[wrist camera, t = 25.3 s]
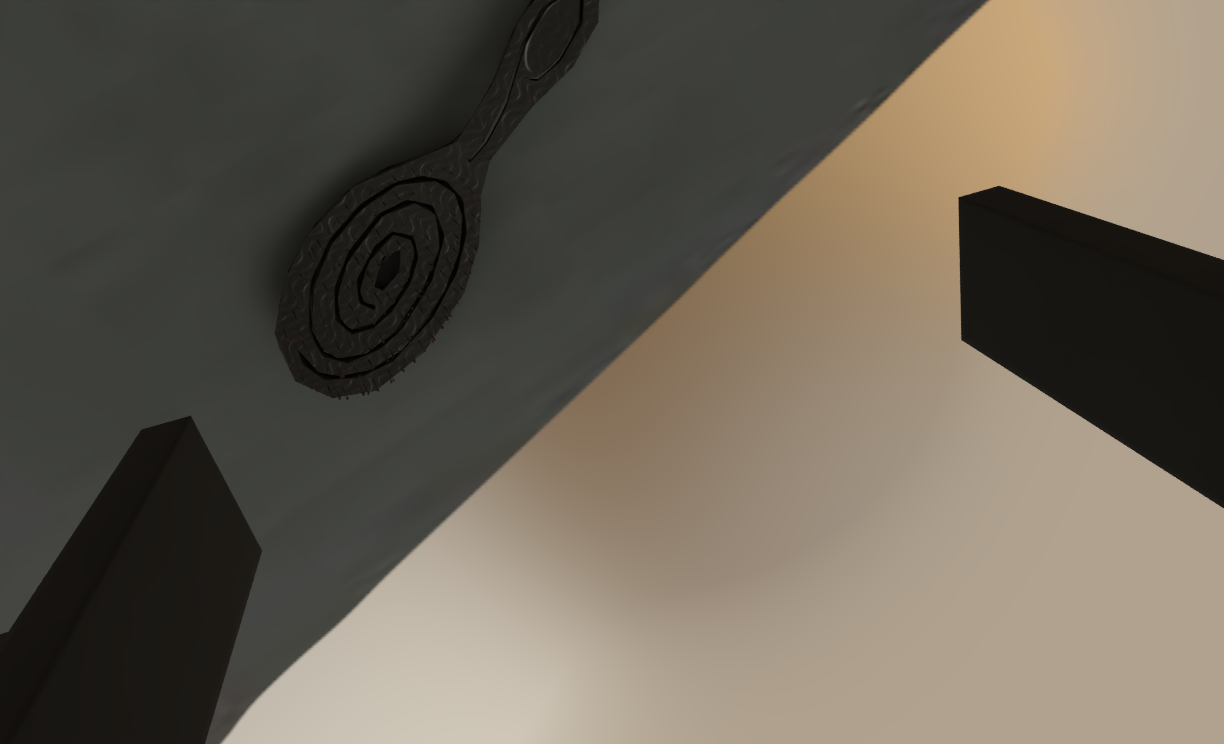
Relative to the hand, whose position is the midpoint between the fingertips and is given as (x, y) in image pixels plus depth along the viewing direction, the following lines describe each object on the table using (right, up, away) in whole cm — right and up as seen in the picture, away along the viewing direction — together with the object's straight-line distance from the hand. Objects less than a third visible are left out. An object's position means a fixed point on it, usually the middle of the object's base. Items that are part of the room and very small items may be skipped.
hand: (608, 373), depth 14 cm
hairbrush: (-9, +10, +29) cm, 32 cm away
